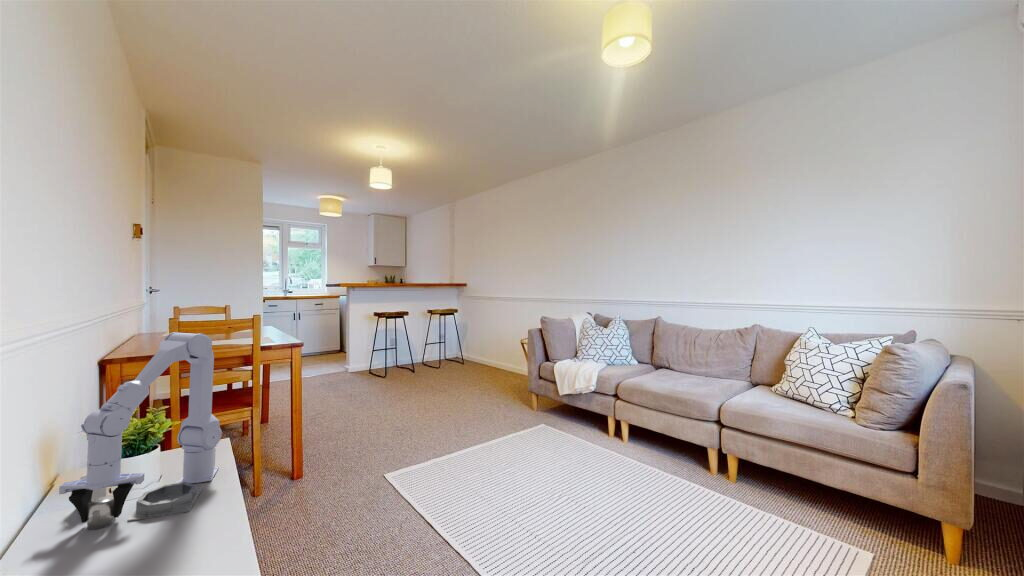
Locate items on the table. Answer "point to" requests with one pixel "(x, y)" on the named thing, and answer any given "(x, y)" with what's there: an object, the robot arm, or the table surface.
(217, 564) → the table surface
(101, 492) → the eye dropper bottle
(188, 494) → the collar
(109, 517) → the silver short rounded cylinder
